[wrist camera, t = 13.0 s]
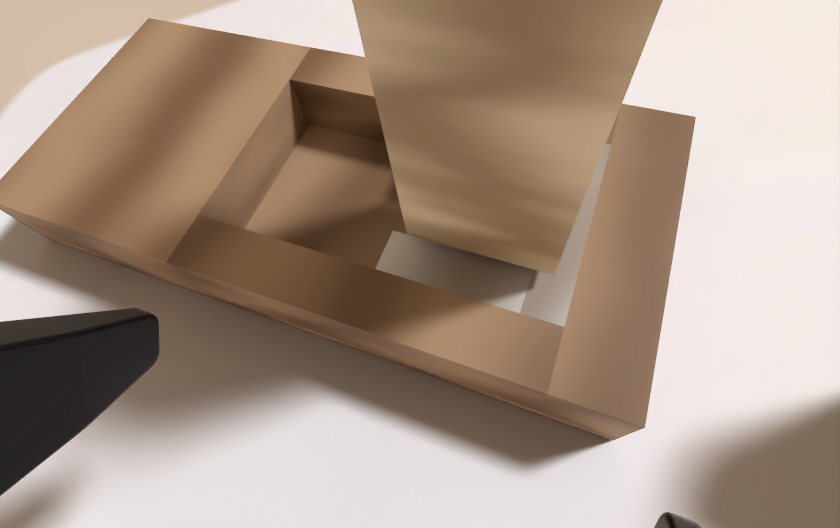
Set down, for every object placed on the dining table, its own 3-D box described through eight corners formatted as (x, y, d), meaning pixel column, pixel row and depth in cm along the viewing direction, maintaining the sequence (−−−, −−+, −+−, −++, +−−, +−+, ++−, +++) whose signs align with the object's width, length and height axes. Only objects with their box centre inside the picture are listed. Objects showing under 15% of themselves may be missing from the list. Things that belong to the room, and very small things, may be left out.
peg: (410, 280, 17) (206, -478, 4) (452, 176, 19) (419, -563, 6) (543, 321, 16) (931, -572, 3) (573, 206, 18) (886, -638, 5)
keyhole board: (48, 238, 20) (-17, 198, 18) (184, 71, 25) (148, 18, 22) (612, 440, 14) (644, 427, 12) (663, 172, 19) (695, 117, 16)
